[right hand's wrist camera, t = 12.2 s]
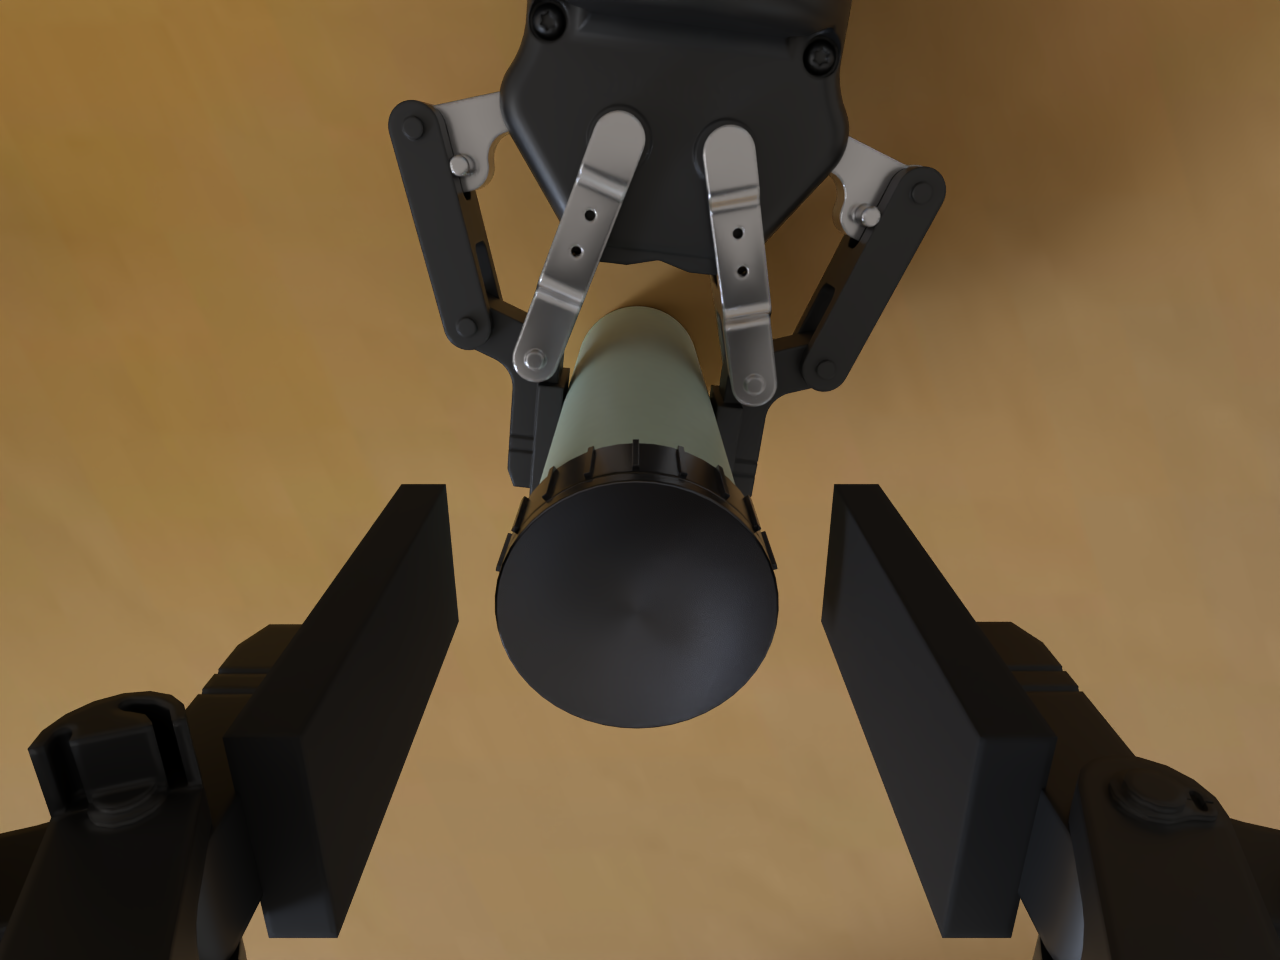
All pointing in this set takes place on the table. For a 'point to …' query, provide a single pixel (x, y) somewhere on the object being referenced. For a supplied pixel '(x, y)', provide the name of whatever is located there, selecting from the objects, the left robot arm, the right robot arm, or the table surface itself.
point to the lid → (636, 587)
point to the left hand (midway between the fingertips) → (627, 505)
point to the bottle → (637, 391)
